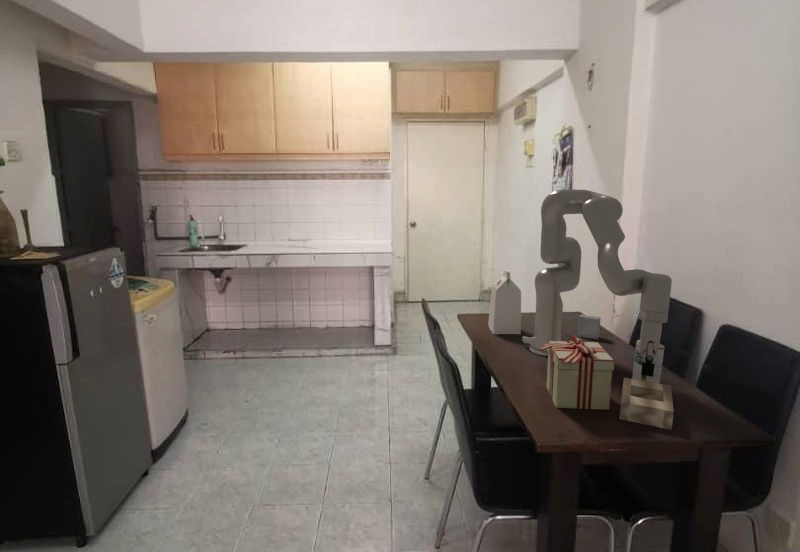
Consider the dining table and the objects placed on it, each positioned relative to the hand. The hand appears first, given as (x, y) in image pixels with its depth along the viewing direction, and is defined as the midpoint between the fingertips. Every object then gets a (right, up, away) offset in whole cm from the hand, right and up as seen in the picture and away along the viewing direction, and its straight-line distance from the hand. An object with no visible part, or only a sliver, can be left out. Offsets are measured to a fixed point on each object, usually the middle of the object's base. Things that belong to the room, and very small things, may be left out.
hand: (647, 370), depth 142 cm
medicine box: (+2, +4, +50) cm, 50 cm away
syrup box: (0, -6, +1) cm, 6 cm away
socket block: (-8, -8, -14) cm, 18 cm away
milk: (-31, +5, +58) cm, 66 cm away
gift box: (-26, -7, -7) cm, 28 cm away
